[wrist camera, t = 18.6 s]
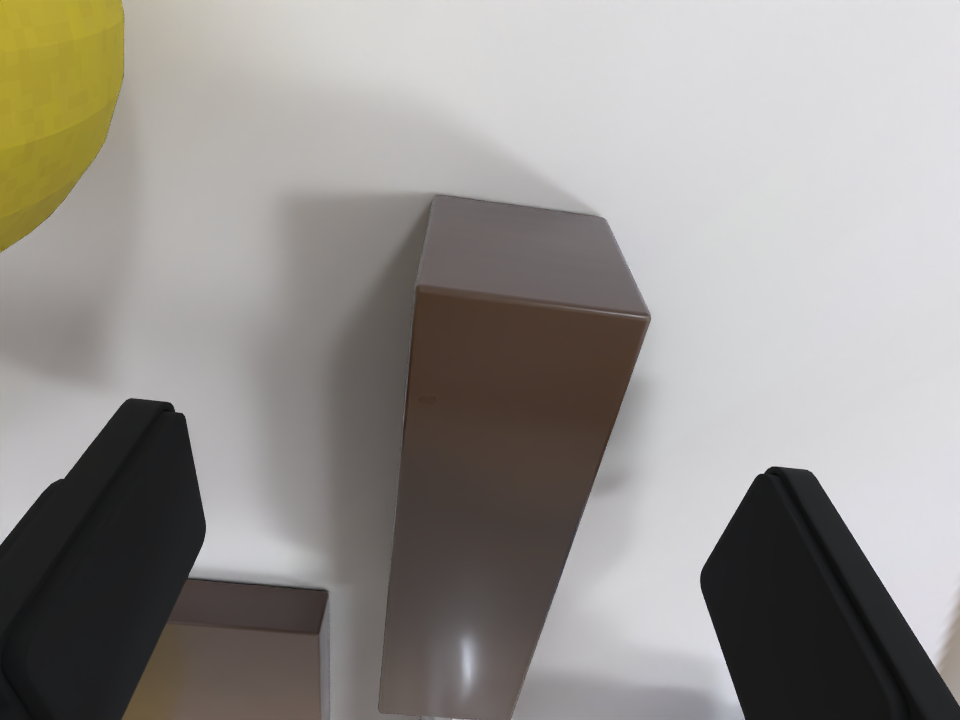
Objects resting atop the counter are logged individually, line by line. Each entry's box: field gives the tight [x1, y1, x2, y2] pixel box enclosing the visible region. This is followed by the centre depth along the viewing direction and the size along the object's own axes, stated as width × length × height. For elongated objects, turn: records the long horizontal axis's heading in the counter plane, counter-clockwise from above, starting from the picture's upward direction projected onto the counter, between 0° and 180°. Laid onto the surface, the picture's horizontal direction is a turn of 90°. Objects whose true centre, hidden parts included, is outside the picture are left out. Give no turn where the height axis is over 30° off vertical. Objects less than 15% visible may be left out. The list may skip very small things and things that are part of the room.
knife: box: [378, 195, 651, 720], centre depth 14 cm, size 22×3×3 cm, turn 172°
